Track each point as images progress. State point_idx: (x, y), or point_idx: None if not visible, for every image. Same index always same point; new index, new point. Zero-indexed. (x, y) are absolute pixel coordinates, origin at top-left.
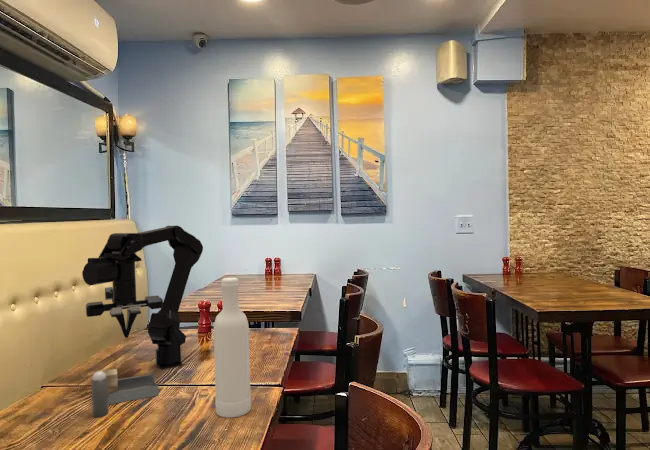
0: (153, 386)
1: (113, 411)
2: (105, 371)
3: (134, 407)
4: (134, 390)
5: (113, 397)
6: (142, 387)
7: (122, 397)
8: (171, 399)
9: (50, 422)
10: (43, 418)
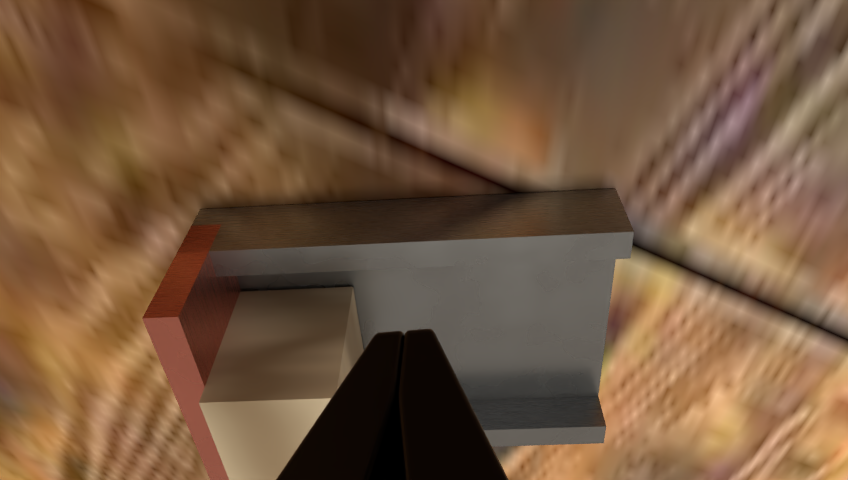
0: (574, 443)
1: None
2: (254, 419)
3: None
4: None
5: None
6: (511, 437)
7: None
8: (639, 452)
9: (95, 468)
10: (36, 426)
